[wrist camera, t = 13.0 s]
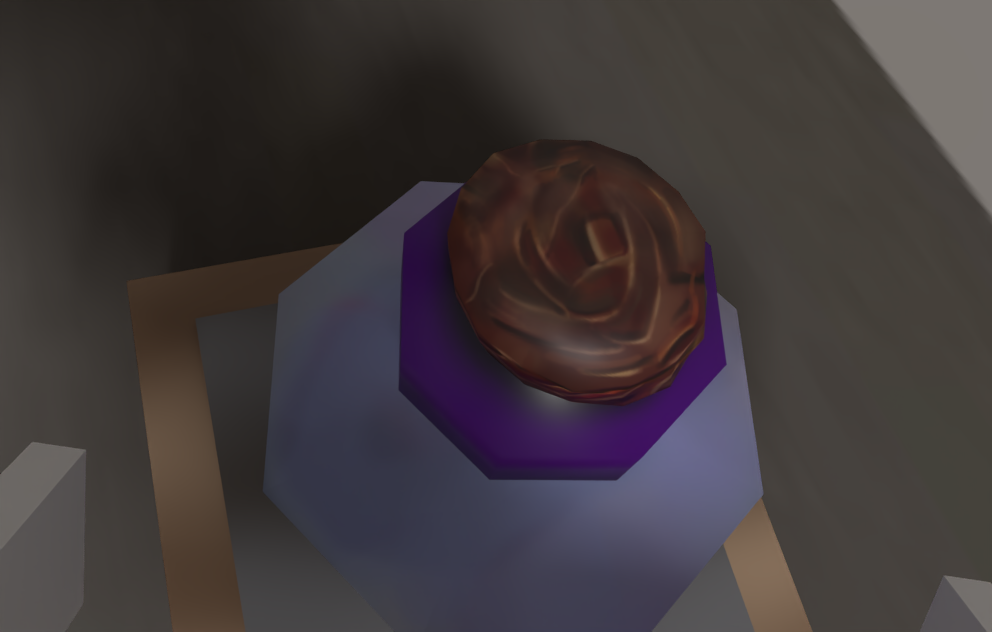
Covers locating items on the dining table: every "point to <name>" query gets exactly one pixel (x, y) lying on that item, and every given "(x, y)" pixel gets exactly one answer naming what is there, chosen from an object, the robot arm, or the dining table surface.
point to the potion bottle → (516, 400)
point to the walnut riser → (259, 522)
